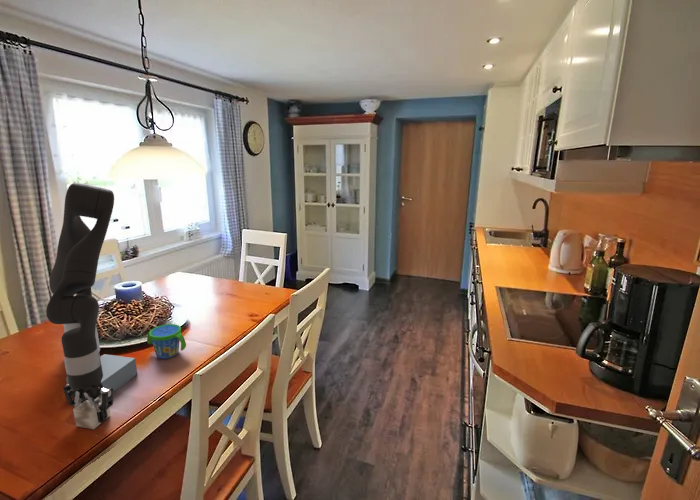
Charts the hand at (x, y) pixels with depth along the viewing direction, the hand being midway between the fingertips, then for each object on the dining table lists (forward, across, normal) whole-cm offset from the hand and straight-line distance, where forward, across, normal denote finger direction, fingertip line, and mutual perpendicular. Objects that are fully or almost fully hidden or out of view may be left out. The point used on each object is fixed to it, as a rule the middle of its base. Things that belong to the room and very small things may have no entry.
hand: (93, 418), depth 97 cm
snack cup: (+1, +3, -35) cm, 35 cm away
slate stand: (+1, +11, -15) cm, 19 cm away
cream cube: (+1, 0, 0) cm, 1 cm away
